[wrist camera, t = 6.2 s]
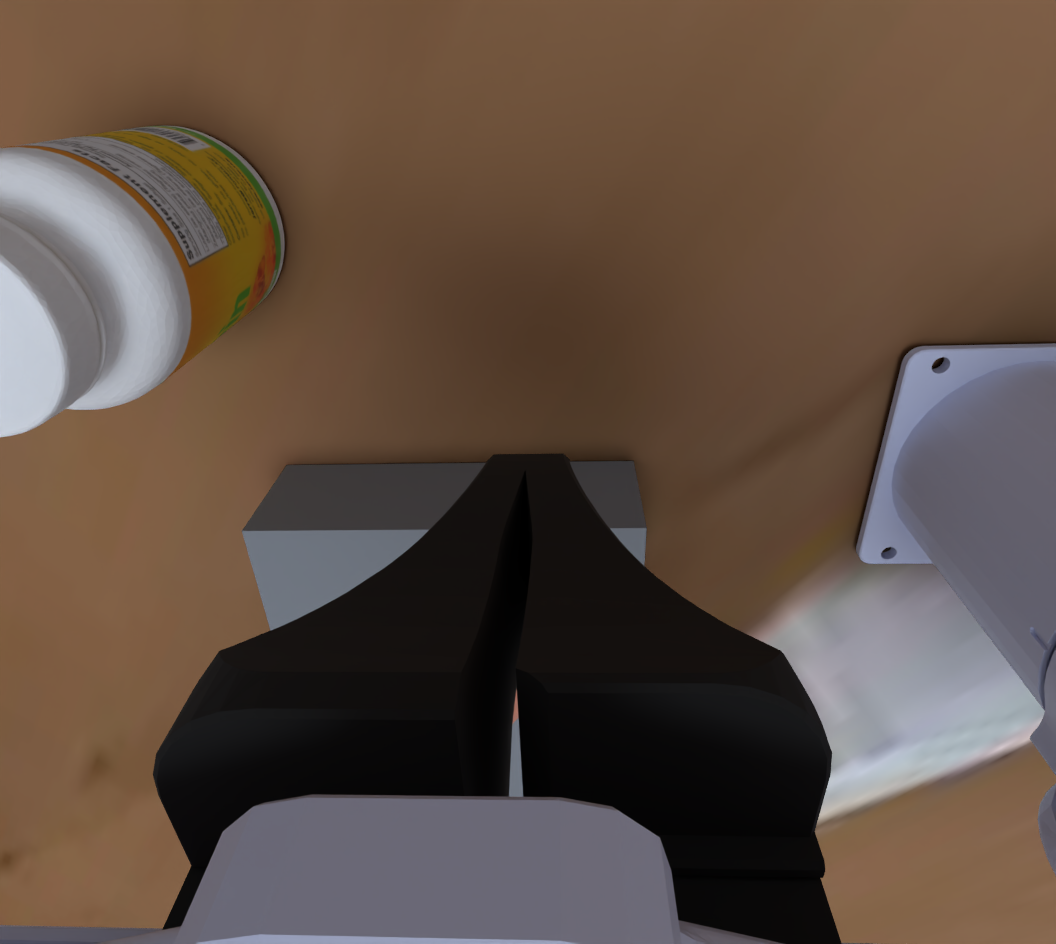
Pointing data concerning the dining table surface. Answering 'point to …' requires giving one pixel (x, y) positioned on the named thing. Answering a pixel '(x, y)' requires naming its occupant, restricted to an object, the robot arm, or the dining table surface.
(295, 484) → the panel
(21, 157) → the supplement bottle
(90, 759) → the dining table surface
